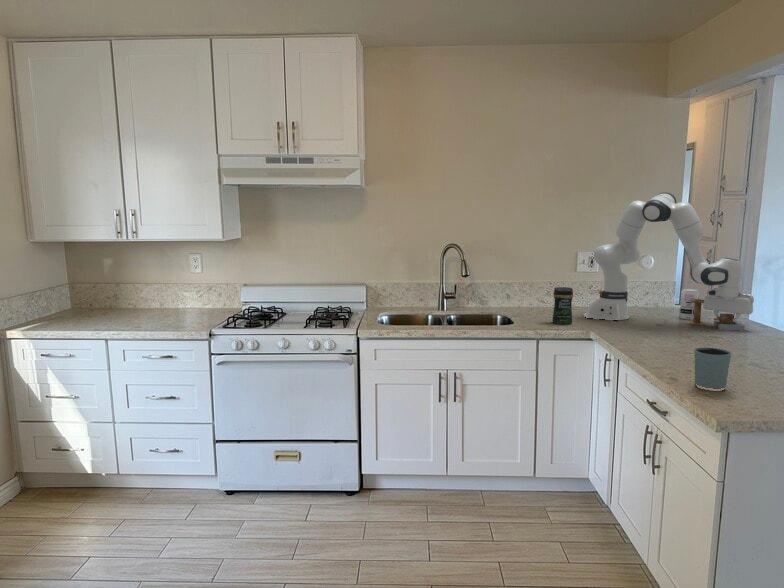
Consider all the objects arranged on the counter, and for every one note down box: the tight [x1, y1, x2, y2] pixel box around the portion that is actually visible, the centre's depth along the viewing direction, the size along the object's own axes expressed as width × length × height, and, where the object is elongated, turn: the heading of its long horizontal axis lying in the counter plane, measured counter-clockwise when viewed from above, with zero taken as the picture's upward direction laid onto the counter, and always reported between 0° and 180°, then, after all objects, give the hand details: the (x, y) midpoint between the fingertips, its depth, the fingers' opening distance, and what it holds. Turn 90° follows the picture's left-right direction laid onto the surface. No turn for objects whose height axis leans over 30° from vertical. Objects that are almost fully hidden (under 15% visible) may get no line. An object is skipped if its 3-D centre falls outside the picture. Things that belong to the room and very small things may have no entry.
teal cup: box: [693, 347, 732, 389], centre depth 172 cm, size 10×10×12 cm
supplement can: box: [679, 288, 700, 321], centre depth 277 cm, size 8×8×15 cm
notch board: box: [713, 319, 746, 331], centre depth 255 cm, size 10×11×2 cm
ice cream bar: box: [713, 313, 735, 324], centre depth 255 cm, size 8×3×5 cm, turn 80°
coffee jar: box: [552, 286, 574, 325], centre depth 272 cm, size 10×8×19 cm
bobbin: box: [688, 298, 706, 327], centre depth 264 cm, size 7×7×12 cm
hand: (726, 321), depth 255 cm, fingers closed on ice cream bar, 6 cm apart
